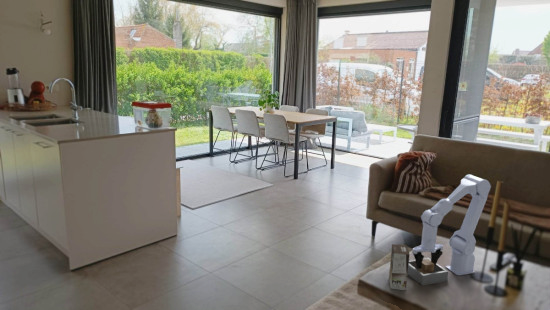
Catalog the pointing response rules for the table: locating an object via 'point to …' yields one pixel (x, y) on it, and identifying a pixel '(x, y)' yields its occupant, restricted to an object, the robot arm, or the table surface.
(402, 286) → the coffee box
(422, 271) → the tan block
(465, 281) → the table surface
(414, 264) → the gray bin
